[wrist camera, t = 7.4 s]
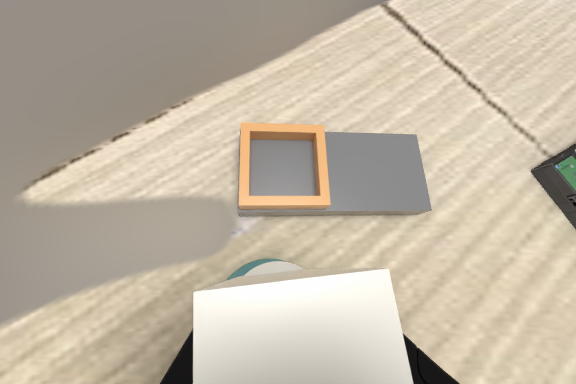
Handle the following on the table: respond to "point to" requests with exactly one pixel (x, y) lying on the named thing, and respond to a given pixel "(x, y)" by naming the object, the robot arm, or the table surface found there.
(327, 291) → the tall white square post
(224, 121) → the table surface
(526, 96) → the table surface
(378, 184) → the framed tray with cover
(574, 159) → the disk drive
